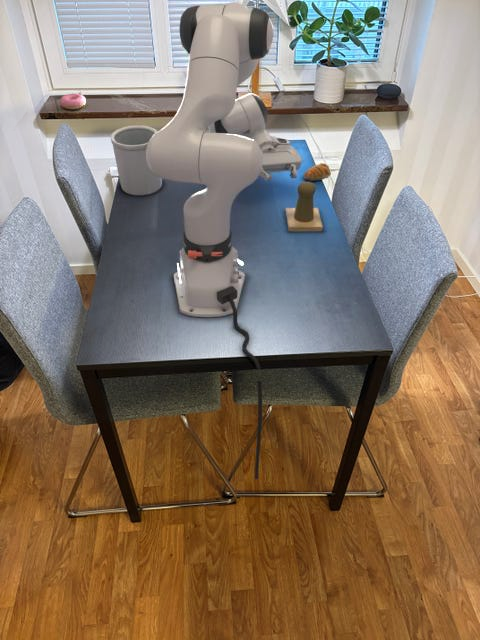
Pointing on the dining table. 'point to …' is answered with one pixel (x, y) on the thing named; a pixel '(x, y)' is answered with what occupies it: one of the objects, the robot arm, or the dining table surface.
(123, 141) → the utensil holder
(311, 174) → the pastry
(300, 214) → the olive brown pawn
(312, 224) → the serving board
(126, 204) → the dining table surface
